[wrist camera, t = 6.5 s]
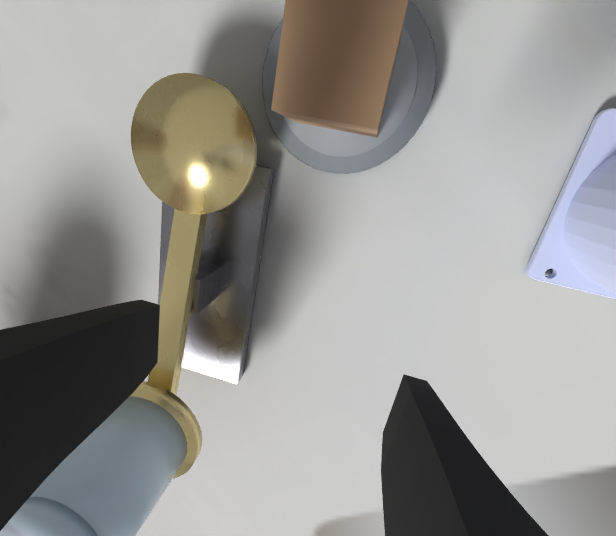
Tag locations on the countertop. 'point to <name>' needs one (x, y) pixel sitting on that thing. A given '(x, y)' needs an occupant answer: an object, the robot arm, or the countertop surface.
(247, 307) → the balance
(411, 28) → the dish
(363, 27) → the block
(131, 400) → the pale blue lidded jar
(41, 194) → the countertop surface
